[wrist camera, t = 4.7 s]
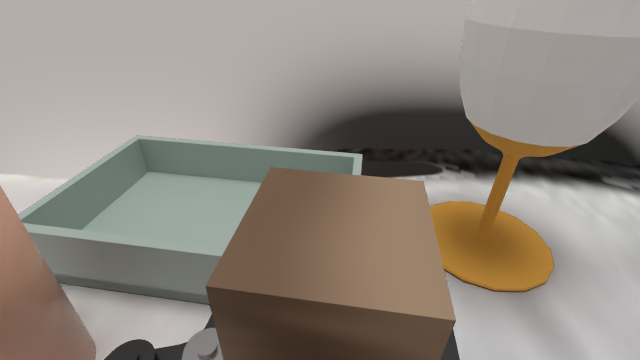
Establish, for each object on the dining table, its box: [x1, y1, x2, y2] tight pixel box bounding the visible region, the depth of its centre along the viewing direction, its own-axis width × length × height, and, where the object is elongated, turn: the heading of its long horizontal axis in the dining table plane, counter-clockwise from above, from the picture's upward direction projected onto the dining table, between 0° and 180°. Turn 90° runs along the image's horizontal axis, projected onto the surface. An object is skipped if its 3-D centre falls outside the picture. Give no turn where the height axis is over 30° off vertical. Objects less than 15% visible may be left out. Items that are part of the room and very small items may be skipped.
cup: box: [430, 0, 640, 291], centre depth 19 cm, size 9×9×16 cm
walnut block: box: [205, 167, 456, 360], centre depth 11 cm, size 4×4×11 cm
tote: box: [18, 135, 362, 304], centre depth 23 cm, size 19×12×4 cm, turn 82°
